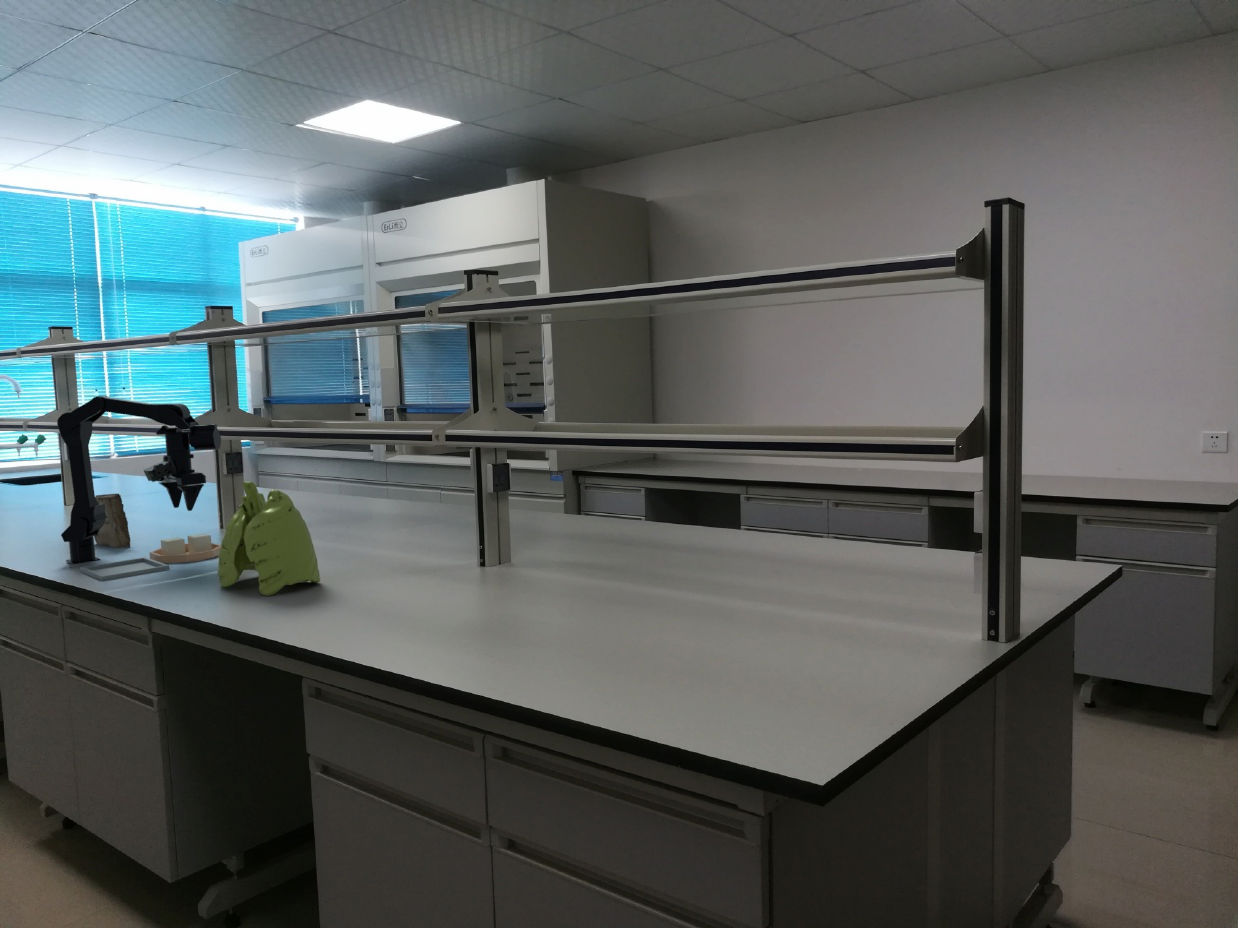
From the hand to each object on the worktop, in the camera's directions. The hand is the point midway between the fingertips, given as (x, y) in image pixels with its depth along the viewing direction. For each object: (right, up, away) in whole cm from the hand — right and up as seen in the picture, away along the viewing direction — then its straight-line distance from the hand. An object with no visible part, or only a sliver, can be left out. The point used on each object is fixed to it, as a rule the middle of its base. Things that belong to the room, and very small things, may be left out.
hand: (183, 509), depth 238 cm
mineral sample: (-32, -12, +22) cm, 41 cm away
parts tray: (-7, -15, -16) cm, 23 cm away
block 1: (-1, -13, -3) cm, 13 cm away
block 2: (+4, -12, +2) cm, 13 cm away
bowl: (+1, -13, 0) cm, 13 cm away
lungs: (+36, -16, -34) cm, 52 cm away
